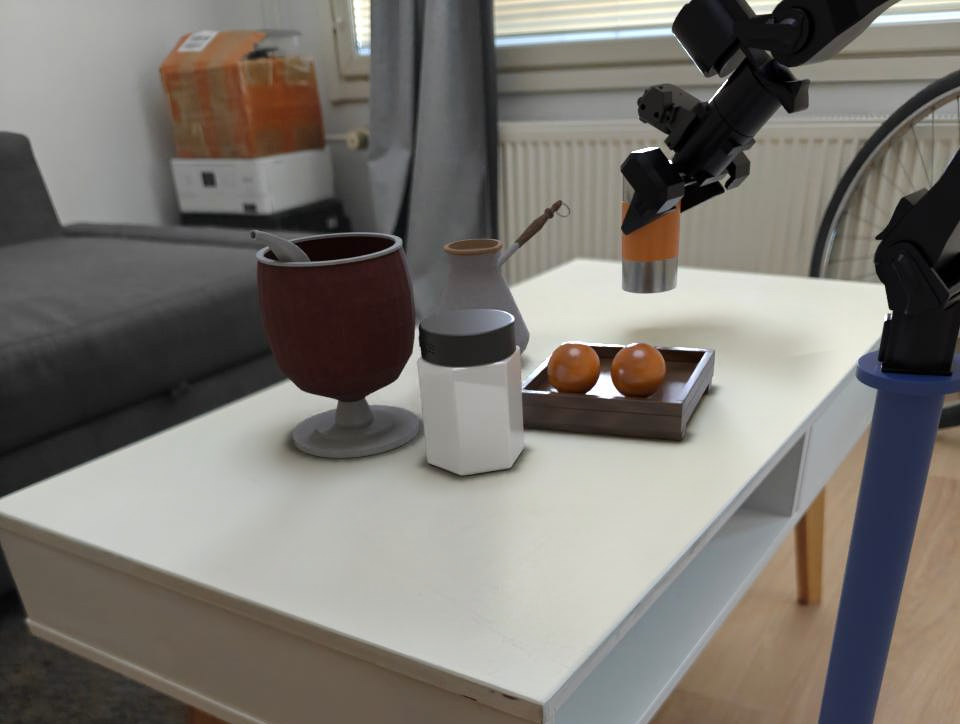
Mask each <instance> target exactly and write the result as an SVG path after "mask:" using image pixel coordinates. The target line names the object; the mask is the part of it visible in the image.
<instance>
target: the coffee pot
mask: <svg viewBox="0 0 960 724" xmlns="http://www.w3.org/2000/svg"><path fill="white" fill-rule="evenodd" d="M562 205H563V206H564V207H566V208H567V209H568V214H567V215H564V214H561V213H560V212H558V211H559V210H560V208H561V207H562ZM555 214H556V215H558V216H559V217H561V218H567V217H569V216H570V215H571V208H570V206H569V205H568V204H566V203H565V202H564V201H563V200H561V199H558V200H556V201H555V202H553V204H552V205H551V207H547V208H545V209H544V213H543V214H541V215H540V216H538V217H537V218H535V219H533V221H532V222H531V223H530V224H529V225H528V226H527V228H526V229H525V230H524V231H523V232H522V233H521V234H520V235H518V238H517V239H516V240H515V241H514V242H513V244H512V245H510V246H509V247H508V248H507V249H506V250H505V251H504V252H503V253H501V255H500V250H501V249H502V248H503V246H504V242H503V241H502V240H499V239H493V238H470V239H463V240H457V241H452V242H449V243H447V244H445V245H444V246H443V252H444V253H445V254H447V256H448V260H449V263H450V269H449V274H448V275H447V279H446V282H445V286H444V289H443V292H442V294H441V299H440V302H439V306H438V309H437V312H436V315H437V314H440V313H445V312H450V311H456V310H466V309H490V310H498V311H503V312H506V313H508V314H510V315H512V316H513V317H514V319H515V330H516V345H517V346H519V347H520V356H522V354H523V353H524V352H525V351H526V349H527V348H528V345H529V342H530V338H531V337H530V335H531V334H530V331H529V329H528V326H527V324H526V322H525V320H524V318H523V316H522V313H521V311H520V309H519V307H518V304H517V303H516V301H515V300H516V299H515V298H514V295H513V293H512V291H511V290H510V287H509V285H508V282H507V280H506V278H505V276H504V274H503V271H502V269H501V267H502V266H503V265H505V264H506V262H508V260H509V259H510V258H511V257H512V256H513V255H514V254H515V253H516V252H517V250H518V249H521V248H522V247H523V246H524V245H525V244H527V242H529V241H530V240H531V239H532V238H534V236H535V235H537V234H538V233H539V232H540V231H541V230H542V229H543V227H544V226H545V225H546V223H547V222H548V221H549V220H550V219H553V218H554V216H555Z"/></svg>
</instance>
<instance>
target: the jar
mask: <svg viewBox="0 0 960 724" xmlns="http://www.w3.org/2000/svg"><path fill="white" fill-rule="evenodd" d="M417 330H418V337H417V338H418V346H419V348H420V357H419V358H418V359H417V360H416V364H417V376H418V384H419V392H420V393H419V394H420V403H421V413H422V422H423V431H424V433H423V434H424V439H425V440H424V441H425V450H426V452H425V453H426V461H427V463H428V464H430V465H432V466H435V467H438V468H441V469H443V470H445V471H448V472H450V473H453V474H456V475H458V476H461V477H462V476H463V477H464V476H469V475H475V474H482V473H488V472H496V471H500V470H508V469H511V468H512V467H513V465H514V464H515V462H516V460H517V459H518V457H519V456H520V454H521V453H522V451H523V450H524V448H525V441H524V440H525V438H524V437H525V436H524V427H523V409H522V385H521V383H522V363H521V355H520V347H519V346H517V345H516V330H515V319H514V317H513V316H512V315H510V314H508V313H506V312H503V311H498V310H490V309H466V310H456V311H450V312H445V313H440V314H437V313H436V314H433V315H431V316H428V317H426V318H424V319H423V320H422V321H421V322H419V324H418V329H417Z"/></svg>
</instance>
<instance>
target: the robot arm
mask: <svg viewBox="0 0 960 724" xmlns="http://www.w3.org/2000/svg"><path fill="white" fill-rule="evenodd" d="M901 1H902V0H780V1H779V2H778V3H777V4H776V6H775V7H774V8H773V10H772V12H771V13H762V14H756V12H755V11H754V10H753V8H752V7H751V6H750V4H749V3H748V1H747V0H690V1H689V2H688V3H685V4H684V5H683V6H682V8H681V9H680V10H679V12H677V14H676V16H675V18H674V20H673V22H672V25H671V33H672V34H673V36H674V38H676V40H677V41H678V43H679V44H680V46H681V47H682V48H683V50H684V51H685V52H686V54H687V55H688V56H689V58H690V59H691V60H692V62H693V63H694V64H695V66H696V67H697V69H699V71H700V72H701V74H702V75H703V77H704V78H706V79H709V78H712V77H714V76H716V75H717V77H719V78H720V79H722V78H726V77H727V76H729V75H730V76H729V77H728V78H727V79H726V81H724V83H723V84H722V86H720V87H719V89H718V90H717V91H716V93H715V94H714V95H713V96H712V97H711V98H710V100H708V101H707V100H706V101H701V99H699V98H697V97H696V96H694V95H692V94H690V92H687V91H685V90H684V89H682V88H680V87H679V86H677V85H675V84H672V83H669V82H668V83H667V82H666V83H660V84H653V85H650V86H649V87H648V88H645V89H644V92H643V95H642V96H640V97H638V98H637V101H636V105H637V106H638V107H637V114H638V116H637V117H638V120H639V122H641V123H643V124H648V125H650V126H652V127H653V128H655V129H656V130H658V131H659V132H662V133H663V134H665V135H668V136H667V137H666V138H664V141H663V143H664V144H665V146H666V147H667V148H668V149H669V150H670V151H673V152H674V154H673V155H672V156H671V157H670V158H668V157H667V156H666V154H665V153H664V151H662V149H661V147H647V148H642V149H638V150H635V151H631V152H630V153H629V154H628V155H627V157H626V158H625V159H624V160H623V162H622V163H621V165H620V166H619V171H620V173H621V174H622V176H623V175H624V177H625V178H626V179H627V181H628V182H629V184H630V185H631V186H632V188H633V189H634V190H635V191H634V194H633V197H632V200H631V203H630V205H629V208H628V210H627V213H626V215H625V218H624V220H623V223H622V222H621V225H620V231H621V232H622V231H623V233H624V234H625V235H629V234H631V233H633V232H634V231H636V230H638V229H640V228H642V227H644V226H646V225H648V224H649V223H651V222H653V221H655V220H657V219H659V218H661V217H663V216H664V215H666V214H668V213H670V212H672V211H674V210H676V209H677V208H676V206H675V204H677V203H678V202H679V201H680V199H681V207H680V215H681V214H683V213H685V212H688V211H690V210H692V209H694V208H696V207H698V206H700V205H702V204H704V203H707V202H708V201H711V200H713V199H714V198H716V197H719V196H722V195H723V194H725V192H726V191H730V190H734V189H736V188H739V186H741V184H742V183H743V182H744V181H745V180H746V179H747V178H748V177H749V176H750V173H751V160H750V159H749V158H748V156H747V155H746V153H745V152H746V151H748V150H751V148H752V147H753V146H754V145H755V144H756V143H757V140H756V139H755V138H754V137H755V136H756V135H757V134H758V133H759V132H760V130H761V129H762V128H763V127H764V126H765V125H766V124H767V123H768V121H770V119H771V118H772V117H773V116H774V115H775V113H776V112H777V111H778V110H779V109H780V108H781V107H782V108H783V109H784V110H785V112H786V113H787V114H789V115H790V114H791V115H792V114H795V113H799V112H803V111H807V110H808V109H809V106H810V95H809V87H810V85H811V79H809V78H804V79H799V78H797V77H796V76H795V74H794V73H793V72H792V70H791V69H790V68H798V67H803V66H808V65H814V64H819V63H823V62H826V61H829V60H831V59H832V58H833V57H835V56H836V55H838V54H839V53H840V52H841V51H843V50H844V49H845V48H846V47H847V46H849V45H850V44H851V43H853V42H854V41H855V40H857V38H858V37H860V36H861V35H862V34H863V33H864V32H865V31H866V30H867V29H868V28H869V27H870V26H871V25H872V24H873V22H874V21H876V19H878V18H879V17H880V16H881V15H883V13H885V12H886V11H887V10H889V9H890V8H891V7H893V6H894V5H896V4H898V3H900V2H901ZM767 51H768V52H770V54H771V55H770V54H769V53H768V52H767ZM669 160H670V161H671V163H672V164H671V163H670V161H669ZM727 175H728V176H729V178H728V179H727V180H726V181H725V183H724V186H723V184H722V183H721V182H720V181H722V180H723V179H725V177H726V176H727ZM874 239H875V241H880V242H879V244H878V245H877V247H876V249H875V252H874V255H873V261H872V262H873V264H874V270H875V274H876V276H877V278H878V280H879V281H880V283H882V284H883V285H884V290H885V296H886V301H887V307H888V310H889V311H891V312H888V313H886V314H885V315H884V318H883V319H884V320H883V324H882V331H881V337H880V340H879V341H880V342H879V347H878V350H879V353H878V359H877V360H878V361H879V362H882V365H881V372H883V373H896V374H915V375H933V376H952V374H953V358H954V353H955V354H956V348H957V344H958V339H959V334H960V146H959V147H958V148H957V150H956V151H955V153H954V155H953V156H952V158H951V159H950V161H949V162H948V164H947V166H946V167H945V168H944V170H943V172H942V173H941V175H940V176H939V178H938V179H937V181H936V182H935V183H934V184H933V185H932V187H930V188H929V189H928V188H927V187H923V188H920V189H918V190H916V191H914V192H911V193H909V194H907V195H904V196H902V197H901V198H900V199H899V201H898V202H897V204H896V207H895V209H894V211H893V213H892V216H891V218H890V219H889V221H888V223H887V224H886V227H884V229H882V231H881V232H879V233H878V234H877V235H876V236H875V237H874Z"/></svg>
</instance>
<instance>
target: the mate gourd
mask: <svg viewBox="0 0 960 724" xmlns="http://www.w3.org/2000/svg"><path fill="white" fill-rule="evenodd" d="M249 239H250V240H251V241H258V242H261V243H263V244H264V245H265V247H263V248H261V249H260V250H258V251H257V252H256V253H255V257H256V260H257V262H256V288H257V301H258V307H259V313H260V317H261V323H262V327H263V330H264V334H265V337H266V339H267V342H268V345H269V348H270V352H271V355H272V357H273V360H274V361H275V363H276V365H277V368H278V369H279V371H281V373H283V374H284V376H286V377H287V378H288V380H290V382H292V384H294V385H295V386H296V387H297V388H298V389H299V390H300V391H301V392H304V393H307V394H311V395H314V396H318V397H324V398H328V399H332V400H335V401H337V405H336V408H333V409H329V410H326V411H323V412H320V413H317V414H314V415H311V416H309V417H308V418H306V419H304V420H303V421H301V422H300V423H298V424H297V425H296V426H295V428H294V429H293V432H292V440H293V443H294V446H295V447H296V448H297V449H298V450H299V451H301V452H302V453H305V454H307V455H311V456H314V457H320V458H330V459H349V458H350V459H351V458H361V457H366V456H372V455H377V454H381V453H386V452H389V451H391V450H394V449H396V448H399V447H402V446H403V445H406V444H407V443H409V442H410V441H412V440H413V438H416V436H417V435H418V433H419V430H420V425H419V418H418V417H417V415H416V414H415V413H414V412H413V411H410V410H407V409H405V408H402V407H399V406H394V405H386V404H369V402H368V400H367V397H368V396H369V395H372V394H373V393H376V392H377V391H379V390H382V389H384V388H386V387H388V386H390V385H392V384H393V383H394V382H396V381H397V380H399V378H400V376H401V374H402V372H403V371H404V369H405V367H406V365H407V364H408V362H409V360H410V358H411V357H412V355H413V353H414V345H415V338H416V337H415V336H416V304H415V297H414V296H415V295H414V285H413V279H412V276H411V275H412V274H411V271H410V267H409V263H408V259H407V256H406V253H405V250H404V247H403V239H402V238H401V237H399V236H398V235H397V236H396V235H394V234H389V233H381V232H369V231H368V232H365V231H363V232H337V233H326V234H318V235H310V236H303V237H298V238H293V239H285V238H282V237H280V236H277V235H274V234H272V233H269V232H266V231H260V230H259V229H258V230H257V229H251V230H250V231H249Z"/></svg>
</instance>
